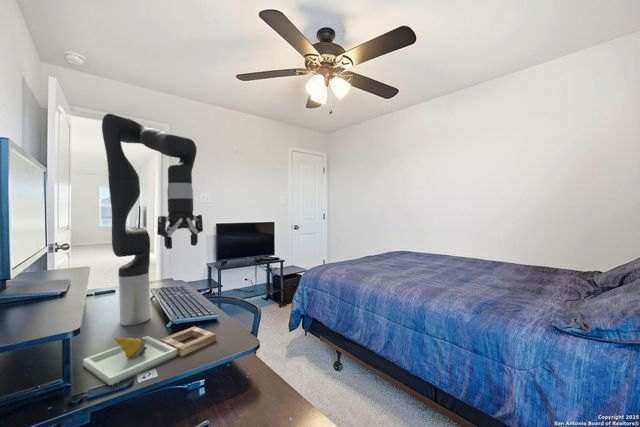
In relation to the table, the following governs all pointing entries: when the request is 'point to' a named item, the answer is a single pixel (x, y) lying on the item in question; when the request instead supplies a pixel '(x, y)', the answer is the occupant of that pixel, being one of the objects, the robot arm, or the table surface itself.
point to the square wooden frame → (184, 349)
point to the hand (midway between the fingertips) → (181, 246)
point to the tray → (128, 361)
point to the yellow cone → (132, 346)
